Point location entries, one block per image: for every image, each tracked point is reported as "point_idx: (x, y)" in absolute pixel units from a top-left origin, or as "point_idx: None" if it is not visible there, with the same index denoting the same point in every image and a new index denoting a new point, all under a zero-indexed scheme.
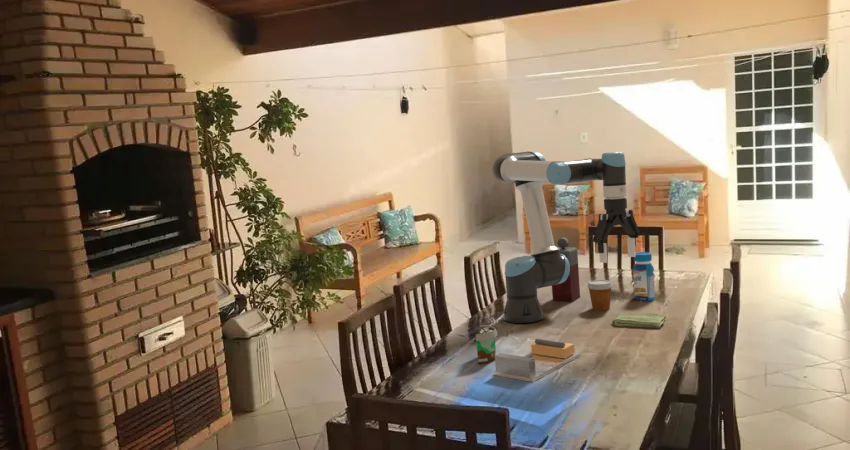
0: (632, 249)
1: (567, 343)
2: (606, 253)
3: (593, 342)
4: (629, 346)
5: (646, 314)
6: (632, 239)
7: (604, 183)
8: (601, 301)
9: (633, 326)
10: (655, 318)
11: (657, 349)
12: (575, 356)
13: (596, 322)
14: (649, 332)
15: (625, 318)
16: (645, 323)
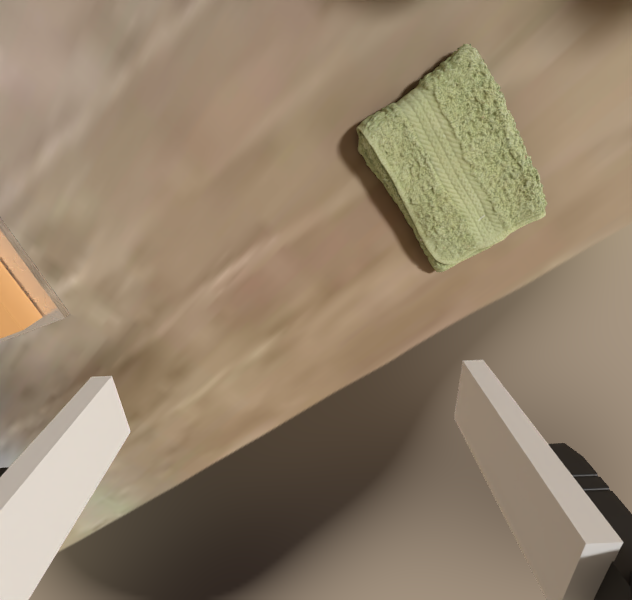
0: (484, 462)
1: (6, 313)
2: (81, 504)
3: (172, 242)
4: (230, 337)
5: (509, 166)
6: (550, 588)
7: None
8: None
9: (394, 199)
10: (474, 233)
11: (266, 394)
12: (42, 325)
13: (357, 24)
14: (375, 279)
15: (407, 155)
16: (417, 235)
